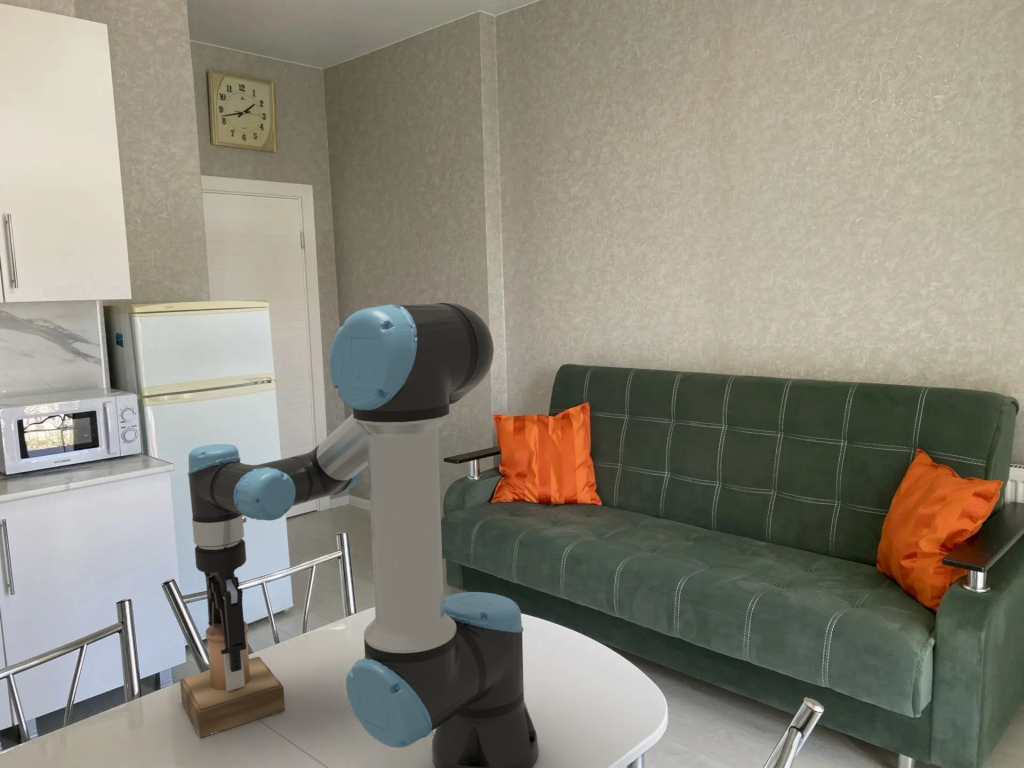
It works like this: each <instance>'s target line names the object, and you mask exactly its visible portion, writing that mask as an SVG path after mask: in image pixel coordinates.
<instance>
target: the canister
mask: <svg viewBox="0 0 1024 768" xmlns="http://www.w3.org/2000/svg"><path fill="white" fill-rule="evenodd" d="M244 629H245V641H246V649H244V650H242V652H243V667H244V681H245V684H246V683H247V682H248V681H249V680H250V667H249V659H250V656H249V654H250V653H249V643H248V631H249V624H248V622H246V621H245V620H244ZM205 638H206V640H207V649H208V650H207V651H208V661H209V662H208V663H209V670H210V676H211V686H212V688H214V689H216V690H226V679H225V666H224V654H221V651H220V650H224V649H225V643H224V636H223V629H222V622H218V623H216V624H213V625H211V626H208V627H207V628H206V630H205Z"/></svg>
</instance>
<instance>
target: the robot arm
mask: <svg viewBox="0 0 1024 768" xmlns="http://www.w3.org/2000/svg"><path fill="white" fill-rule="evenodd" d="M494 348H495V347H494V341H493V337H492V334H491V332H490V329H489V327H488V325H487V323H486V322H485V321H484V320H483V318H482V317H480V316H479V314H478V313H476V312H475V311H473V310H472V309H470V308H468V307H466V306H464V305H461V304H458V303H452V302H440V303H439V302H438V303H425V304H424V303H423V304H422V303H421V304H390V303H389V304H387V305H380V306H374V307H373V306H372V307H367V308H363V309H360V310H358V311H355V312H354V313H353V314H351V315H350V316H348V317H347V319H345V320H344V322H343V325H342V326H340V327H339V328H338V330H337V332H336V334H335V335H334V338H333V341H332V344H331V348H330V354H329V375H330V378H331V379H330V380H331V383H332V386H333V387H334V388H335V389H338V390H337V396H338V397H339V398H340V400H341V401H342V402H343V403H344V404H345V405H346V406H348V407H351V408H352V414H351V415H350V416H349V417H347V418H346V419H345V420H344V422H342V423H341V424H340V425H339V426H338V427H337V428H336V429H334V430H333V431H332V432H331V433H330V434H329V435H328V436H327V437H326V438H325V439H324V440H323V441H321V442H320V443H319V444H318V445H317V446H316V447H315V448H313V450H311V451H309V452H307V453H302V454H299V455H295V456H290V457H288V458H287V457H285V458H282V459H277V460H274V461H268V462H264V463H259V464H247V463H243V462H241V457H240V454H239V449H238V447H237V446H235V444H234V445H233V444H229V443H220V444H219V443H217V444H215V443H214V444H208V445H202V446H198V447H195V448H193V449H192V450H191V451H190V452H189V453H188V472H187V476H188V483H189V493H190V494H189V495H190V505H191V514H192V518H191V522H192V523H191V524H192V533H193V534H192V535H193V543H194V544H195V545H196V546H195V548H194V555H195V556H194V557H195V567H196V569H197V570H198V571H199V572H202V573H204V576H205V583H206V599H207V601H206V602H207V616H208V617H207V618H208V622H207V623H208V627H210V626H211V625H213V624H216V623H218V622H222V629H223V636H224V643H225V649H224V650H220V651H221V654H224V666H225V679H226V690H227V691H231V690H234V689H237V688H241V687H244V686H245V681H244V667H243V652H242V650H244V649H246V641H245V629H244V621H245V620H244V619H245V618H244V610H243V607H244V606H243V593H244V592H243V590H242V588H239V586H240V581H239V578H238V576H236V575H235V574H236V573H235V571H236V569H238V568H241V567H242V566H244V565H245V564H246V562H247V553H246V552H247V549H246V542H245V540H244V539H243V538H244V537H245V527H244V524H245V523H247V520H248V519H251V520H257V521H275V520H278V519H281V518H283V516H284V515H286V514H287V512H288V511H290V510H291V509H292V508H293V507H294V506H298V505H301V504H304V503H308V502H311V501H312V502H313V501H316V500H319V499H323V498H326V497H329V496H330V497H331V496H336V495H339V494H342V493H343V492H346V491H348V490H350V489H353V487H354V486H356V485H357V483H358V479H359V477H361V472H362V470H363V469H365V468H366V467H367V466H368V481H369V482H368V485H369V487H368V488H369V504H370V506H369V507H370V527H371V545H372V551H371V552H372V568H373V569H372V570H373V571H372V573H373V589H374V591H373V592H374V593H373V594H374V613H375V618H374V619H372V621H371V622H370V623H369V624H368V625H367V626H366V627H365V629H364V631H363V632H364V633H363V641H364V642H363V643H364V645H363V646H364V658H363V659H358V660H356V661H355V662H354V665H352V667H351V668H350V669H349V670H348V672H347V674H346V675H347V676H346V682H345V686H346V687H345V688H346V693H347V698H348V701H349V706H350V707H351V710H352V712H353V715H354V716H355V718H356V719H357V720H358V722H359V723H360V724H361V725H362V727H363V729H364V730H365V731H366V732H367V733H368V734H369V735H370V736H371V737H372V738H373V739H375V740H376V741H377V742H379V743H381V744H382V745H384V746H387V747H389V748H390V747H391V748H395V749H402V748H406V747H408V746H411V745H412V744H414V743H416V742H417V741H419V740H421V739H425V738H427V737H428V736H429V735H430V734H431V733H432V732H433V731H434V730H435V731H434V734H433V737H432V744H431V750H432V751H431V752H432V761H433V764H434V767H435V768H532V767H533V766H532V765H534V764H535V763H536V761H537V758H538V745H539V744H538V735H537V732H536V728H535V726H534V723H533V720H532V718H531V715H530V712H529V709H528V707H527V704H526V702H525V693H524V692H525V690H524V689H525V687H524V684H525V682H524V654H523V653H524V650H523V649H524V648H523V632H524V626H523V624H522V623H523V622H522V612H521V609H520V607H519V605H518V604H517V602H515V601H514V600H512V599H511V598H509V597H506V596H504V595H499V594H496V593H491V592H481V591H475V592H474V591H469V592H466V591H465V592H459V593H454V594H450V595H447V596H445V597H444V577H443V576H444V573H443V550H442V548H443V544H442V519H441V518H442V517H441V516H442V515H441V492H440V491H441V489H440V488H441V486H440V485H441V483H440V462H439V461H440V460H439V458H440V457H439V434H438V433H439V432H438V431H439V427H440V426H441V425H442V424H443V423H444V422H445V421H446V420H447V419H448V418H449V417H450V406H452V405H455V404H456V403H457V402H459V401H460V400H461V399H463V398H464V396H466V395H468V394H469V393H470V392H472V390H473V389H475V388H477V386H478V385H479V384H481V382H482V381H483V380H484V379H485V378H486V376H487V375H488V373H489V371H490V369H491V366H492V364H493V360H494V354H495V352H494ZM247 518H248V519H247Z"/></svg>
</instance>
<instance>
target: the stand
mask: <svg viewBox="0 0 1024 768" xmlns="http://www.w3.org/2000/svg"><path fill="white" fill-rule="evenodd" d="M249 667H250V680H249V681H248V682H247V683H246V684H245V686H244V687H241V688H237V689H234V690H231V691H227V690H216V689H214V688H212V686H211V676H210V669H208V670H205V671H203V672H199V673H196V674H192V675H189V676H186V677H183V678H180V679H179V681H180V683H179V684H180V694H181V696H180V697H181V703H182V702H183V703H182V704H184V705H183V707H184V706H185V707H184V709H185V708H186V709H185V711H186V710H187V711H186V712H188V713H187V715H188V714H189V715H188V716H190V717H191V719H192V721H193V723H194V725H195V727H196V728H195V727H194V728H195V730H196V729H197V730H196V732H197V731H198V732H197V734H198V733H199V734H198V736H199V735H200V736H199V738H200V737H202V738H204V737H203V736H205V737H207V736H206V735H208V736H211V735H212V734H211V733H214V734H216V733H215V732H217V733H220V732H223V731H226V730H229V729H233V728H235V727H238V726H241V725H243V724H247V723H250V722H253V721H256V720H260V719H262V718H265V717H268V716H272V715H274V714H277V713H280V712H284V711H286V705H285V690H284V689H285V687H284V686H283V684H282V683H281V681H280V680H279V679H278V677H277V676H275V674H274V673H273V672H272V670H271V669H270V667H268V665H267V664H266V663H265V661H264V660H263V659H262V658H261V657H260V656H254V657H251V658H249ZM190 717H189V718H190ZM191 719H190V720H191ZM192 721H191V722H192ZM193 723H192V724H193ZM194 725H193V726H194ZM222 730H223V731H222ZM219 731H220V732H219ZM210 734H211V735H210Z"/></svg>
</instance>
